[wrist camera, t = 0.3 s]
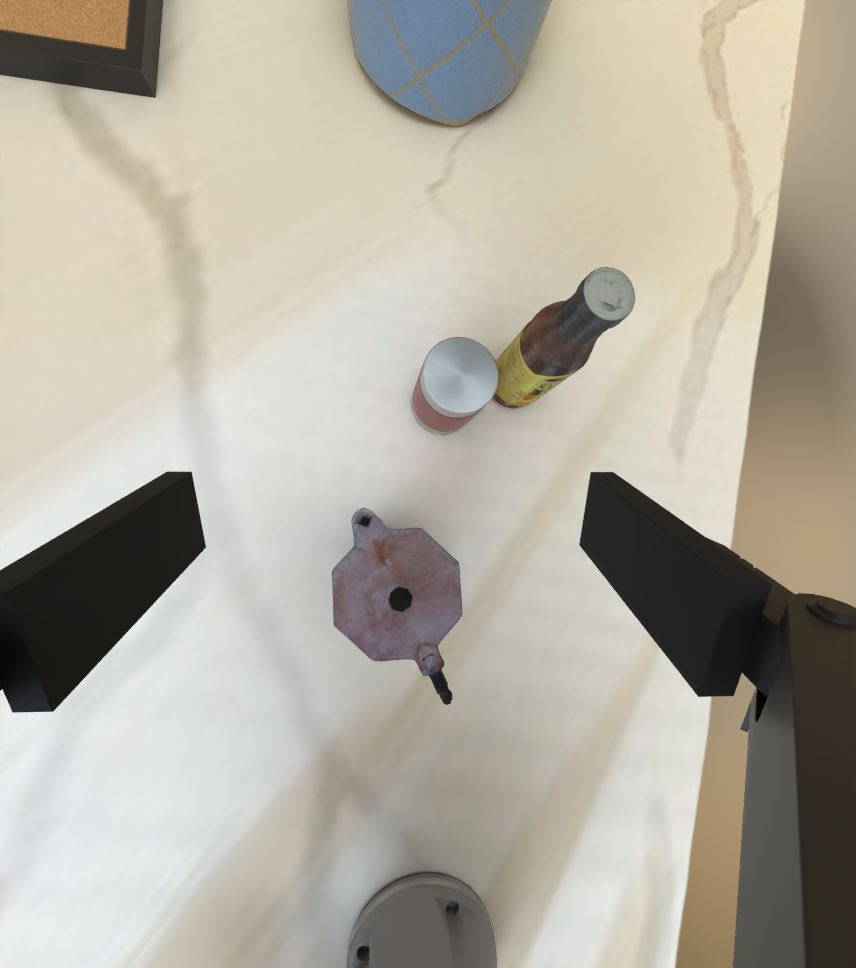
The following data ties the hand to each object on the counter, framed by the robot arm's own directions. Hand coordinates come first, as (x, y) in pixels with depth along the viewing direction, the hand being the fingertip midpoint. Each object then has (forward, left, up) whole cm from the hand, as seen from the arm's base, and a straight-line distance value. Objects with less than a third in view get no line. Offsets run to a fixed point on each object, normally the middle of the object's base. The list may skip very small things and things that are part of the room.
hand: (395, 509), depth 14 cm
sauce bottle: (+9, -19, -33) cm, 39 cm away
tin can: (+9, -10, -32) cm, 35 cm away
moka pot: (-7, +1, -33) cm, 33 cm away
